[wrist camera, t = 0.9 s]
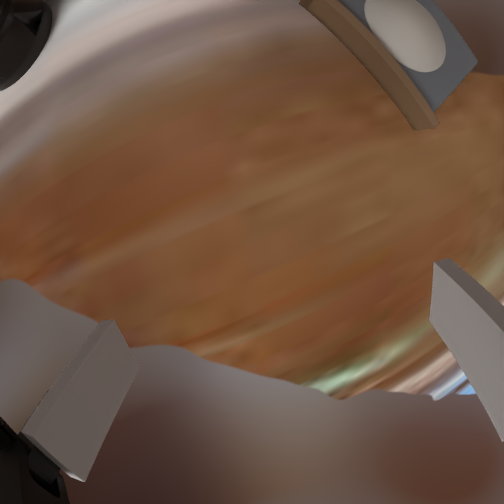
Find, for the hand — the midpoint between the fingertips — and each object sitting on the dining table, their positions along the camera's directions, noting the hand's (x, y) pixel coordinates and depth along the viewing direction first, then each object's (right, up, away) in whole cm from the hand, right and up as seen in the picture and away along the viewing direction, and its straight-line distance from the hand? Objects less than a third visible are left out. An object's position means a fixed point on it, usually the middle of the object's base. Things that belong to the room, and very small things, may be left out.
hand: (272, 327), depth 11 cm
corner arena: (+20, +33, +15) cm, 42 cm away
